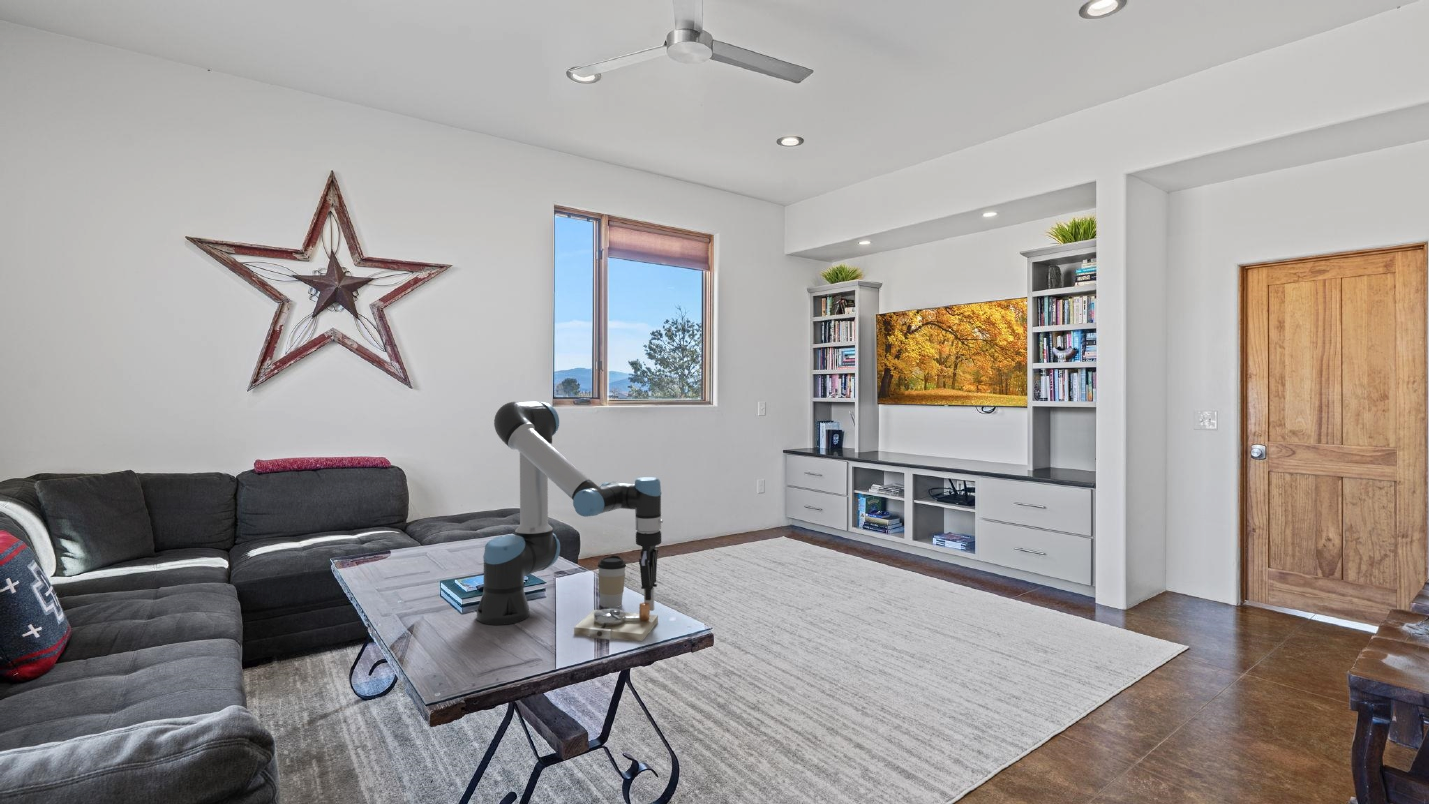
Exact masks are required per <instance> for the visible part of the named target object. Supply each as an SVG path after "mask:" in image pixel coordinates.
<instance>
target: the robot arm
mask: <svg viewBox="0 0 1429 804" xmlns="http://www.w3.org/2000/svg"><path fill="white" fill-rule="evenodd" d="M495 413H496V414H494V415H495V416H494V420H493V421H494V422H493V426H494V430H495V433H496V435H497V436H498V437H499V439H501V441H502V443H503V444H505V445H506V446H507V447H508V448H509V449H511V450H517V451H518V452H519V525H518V526H517V527H516V529H514V531H515V532H514V534H509V535H508V534H507V535H503V536H498V537H495V538H493V539H492V538H491V539H490V540H489V541H487V543H485V546H484V551H483V557H482V558H483V591H482V595H481V598H480V600H479V604H478V607H477V608H476V609H477V610H476V621H478V622H479V623H482V624H485V625H493V626H495V625H496V626H499V625H501V626H502V625H510V624H516V623H519V622H523V621H525V620H526V619H527V618H528V617H530V606H529V603H528V599H527V596H526V594H525V590H524V589H525V583H524V582H525V576H528V575H531V574H534V573H536V572H541V571H544V570H546V569H548V568H550V567H551V566H553V565H554V564H555V563H556V562H557V560H558V558H559V557H560V554H561V553H560V552H561V543H560V540H559V538H557V535H556V534H555V533H554V532H553V531H554V530H553V529H554V527H552V525H550V524H549V511H548V509H549V507H548V506H549V505H548V504H549V503H548V502H549V500H548V499H549V497H548V496H549V494H548V493H549V491H548V490H549V489H548V479H549V480H550V481H551V482H553V484H555V485H556V486H557V487H558V488H559V489H560V490H561V491H562V492H564V494H566V495H567V496H568V497H569V498H570V499H571V500H572V504H573V507H574V510H575V512H576V514H578V515H579V516H581V517H585V518H586V517H593V516H595V517H596V516H598V515H599V514H604V513H608V512H611V511H615V510H620V509H623V510H624V509H626V510H634V512H635V513H634V514H635V531H636V532H635V544H636V545H638V546H640V547H641V550H640V558H639V560H638V564H639V565H638V566H639V570H640V571H639V572H640V582H641V587H640V589H641V590H644V591H643V593H644V594H643V596H644V597H643V598H644V600H643V601H644V602H643V603H649V604H650V612H651V611H652V612H654V610H655V588H656V587H658V584H657V572H658V571H657V569H658V555H659V549H658V548H656V547H657V546H659V545H661V544H662V531H661V530H662V523H663V522H664V520H663V519H662V509H661V507H662V491H661V490H662V489H661V487H662V486H661V481H660V478H658V477H654V476H653V477H652V476H644V477H643V476H642V477H638V478H635V480H634V483H626V482H625V483H624V482H617V481H611V482H607V481H606V482H602V483H601V485H600V486H599V485H597V484H596V483H595V482H594V481H593V480H591V479H590V478H589V477H588V476H587V475H586V474H584V473H583V472H582V471H581V470H580V469H579V468H578V467H576V466H575V465H574V464H573V463H572V462H571V461H570V460H569V459H568V458H566V457H565V456H564V455H563V454H562V453H561V452H559V451H558V450H557V449H556V448H555V447H554V446H553V445H552V444H553V436H554V435H555V434H556V433H557V431H558V430H559V427H560V417H559V414H558V412H557V410H556V409H555V408H554V407H553V406H552V405H551V404H550V403H548V402H545V401H539V400H538V401H537V400H534V401H511V402H507V403H505V404H502V405H501V407H500V408H499V409H498V410H497V412H495Z"/></svg>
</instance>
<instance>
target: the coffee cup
mask: <svg viewBox="0 0 1429 804" xmlns="http://www.w3.org/2000/svg"><path fill="white" fill-rule="evenodd" d="M597 563H598V564H597V568H598V574H597V575H598V576H597V577H598V578H597V579H598V592H599V603H600V604H599V605H600V606H601V607H603V608H606V609H615V608H618V607H621V606H622V604H623V595H624V594H623V593H624V592H625V591H624V589H625V581H626V579H625V578H626V567H627V565H626V564H627V562H626V561H624V559H623V558H622V557H620V556H619V555H611V556H605V557H602V558H601V559H600V561H598V562H597Z"/></svg>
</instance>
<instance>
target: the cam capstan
mask: <svg viewBox="0 0 1429 804" xmlns="http://www.w3.org/2000/svg"><path fill="white" fill-rule="evenodd" d="M638 608H639V611H638V612H639V613H638V614H639V616H625V612H626V611H624V610H622V609H618V608H604V609H598V610H599V611H596V612H595V613H594V622H595V623H596V624H598V625H602V626H615V625H620V624H622V623H624V622H625V621H649V617H650V615H651V614H650V612H651V611H650V604H649V603H644V602H640V603H639V607H638Z"/></svg>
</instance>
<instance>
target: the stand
mask: <svg viewBox="0 0 1429 804" xmlns="http://www.w3.org/2000/svg"><path fill="white" fill-rule="evenodd" d="M599 610H600V609H594V610H592V611H591V612H590V613H589V614H588V615H586V616H585V617H584V618H583V619H582V620H581V621H580V622H578V623H577V624H576V625H575V626H574V627H573V629H574V630H573V635H577V636H587V637H589V638H591V639H601V640H611V639H615V640H616V639H618V640H619V639H620V640H627V641H637V642H642V641H643V640H645V638H646V637H647V636H648V635H649V634H650V632H651V631H652V630H653V628H655V626H656V625H657V624H658V622H659V615H656V614H650V617H649V621H625V622H624V623H622V624H620V625H615V626H602V625H598V624H596V623H595V622H594V613H595V612H596V611H599ZM624 612H625V616H639V613H634V612H626V611H624Z"/></svg>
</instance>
